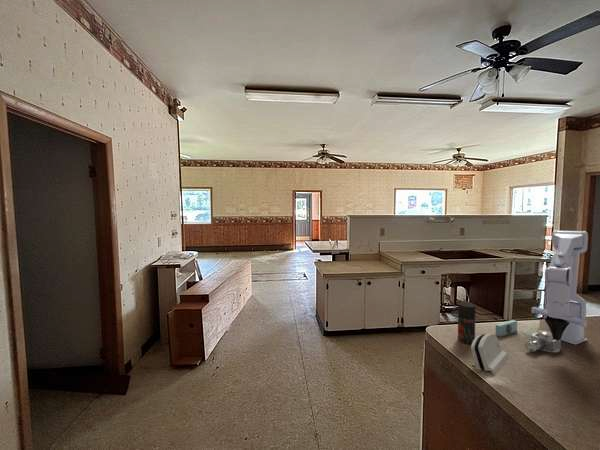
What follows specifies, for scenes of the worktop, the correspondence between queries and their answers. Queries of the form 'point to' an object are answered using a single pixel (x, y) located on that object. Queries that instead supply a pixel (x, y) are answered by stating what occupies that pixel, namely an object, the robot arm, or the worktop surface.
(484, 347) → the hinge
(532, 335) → the elbow
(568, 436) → the worktop surface
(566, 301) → the robot arm
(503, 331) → the pale teal rectangular bar
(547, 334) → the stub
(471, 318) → the deodorant
